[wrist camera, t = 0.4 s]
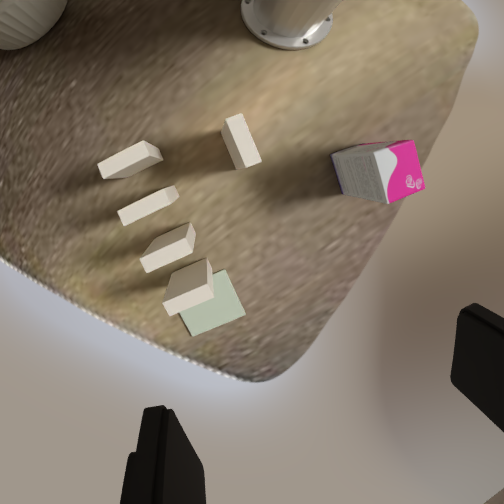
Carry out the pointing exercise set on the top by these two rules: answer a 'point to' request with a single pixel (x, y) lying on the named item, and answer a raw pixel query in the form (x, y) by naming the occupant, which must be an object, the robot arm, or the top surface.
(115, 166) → the domino
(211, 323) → the end pad
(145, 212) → the domino
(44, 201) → the top surface
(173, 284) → the domino
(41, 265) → the top surface
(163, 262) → the domino
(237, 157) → the end domino
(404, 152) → the supplement box
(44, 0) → the canister
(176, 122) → the top surface
